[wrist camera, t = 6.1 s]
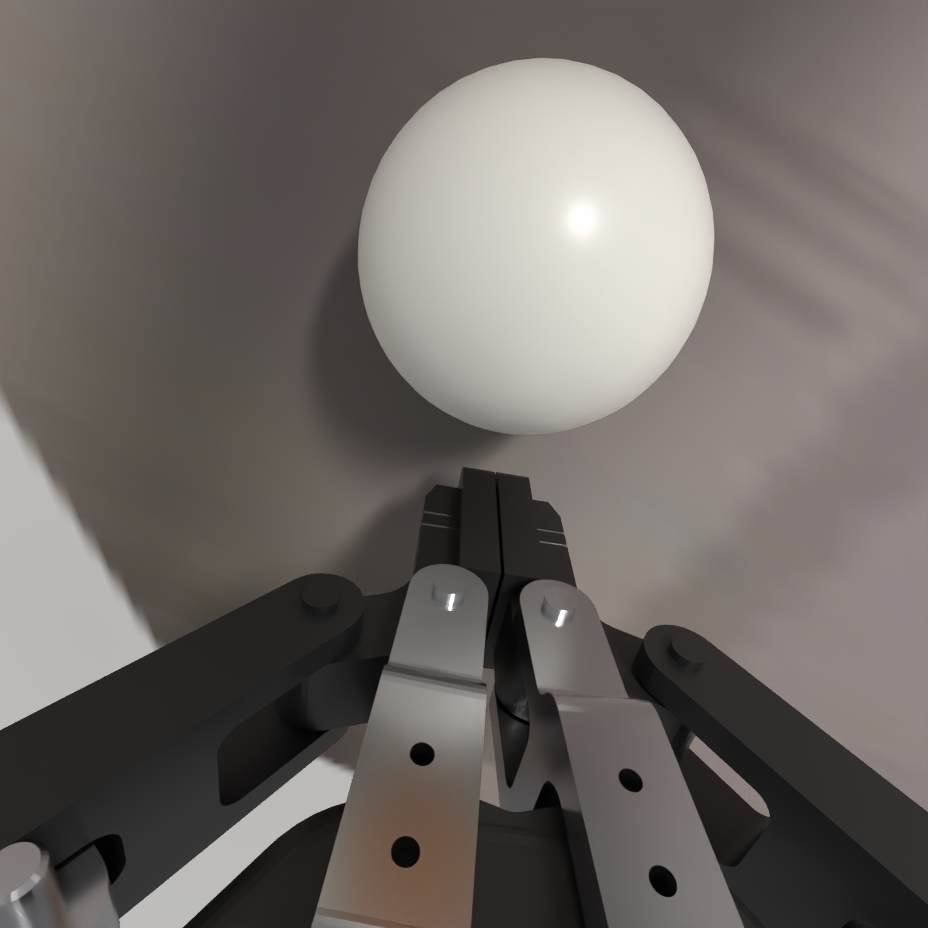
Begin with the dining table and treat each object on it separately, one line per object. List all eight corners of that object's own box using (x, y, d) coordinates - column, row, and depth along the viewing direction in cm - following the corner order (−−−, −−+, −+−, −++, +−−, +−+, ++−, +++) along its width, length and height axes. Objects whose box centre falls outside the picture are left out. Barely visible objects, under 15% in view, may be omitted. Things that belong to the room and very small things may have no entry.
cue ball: (333, 479, 9) (394, 299, 13) (660, 524, 9) (629, 332, 13) (283, 103, 5) (392, -4, 9) (864, 182, 5) (736, 42, 9)
